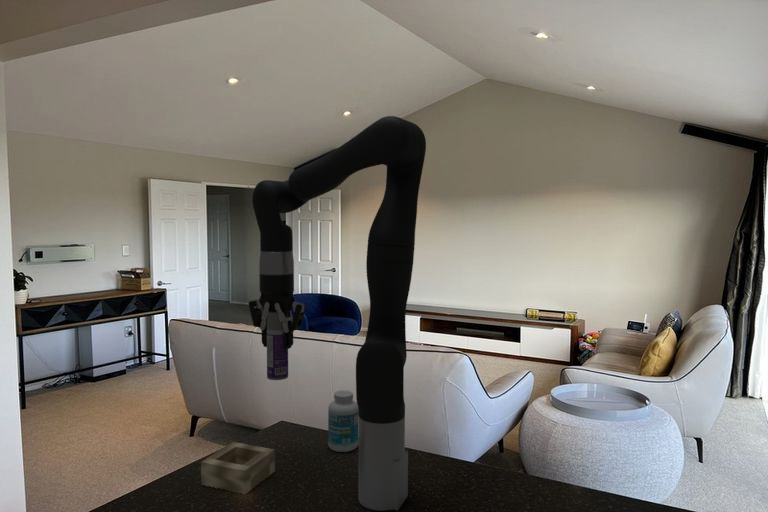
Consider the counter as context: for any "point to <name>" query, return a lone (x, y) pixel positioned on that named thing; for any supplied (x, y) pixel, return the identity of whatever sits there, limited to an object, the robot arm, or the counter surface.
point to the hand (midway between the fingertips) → (277, 346)
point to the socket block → (238, 467)
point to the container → (276, 348)
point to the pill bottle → (343, 422)
